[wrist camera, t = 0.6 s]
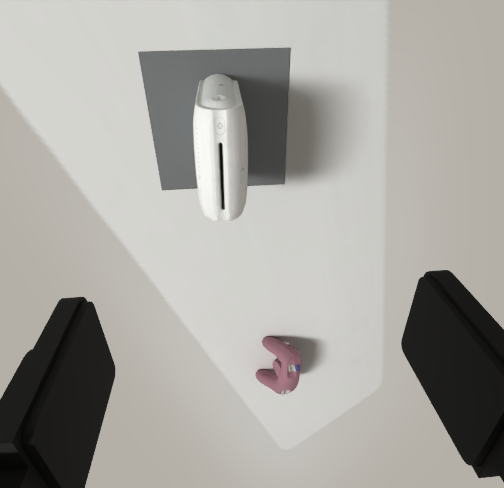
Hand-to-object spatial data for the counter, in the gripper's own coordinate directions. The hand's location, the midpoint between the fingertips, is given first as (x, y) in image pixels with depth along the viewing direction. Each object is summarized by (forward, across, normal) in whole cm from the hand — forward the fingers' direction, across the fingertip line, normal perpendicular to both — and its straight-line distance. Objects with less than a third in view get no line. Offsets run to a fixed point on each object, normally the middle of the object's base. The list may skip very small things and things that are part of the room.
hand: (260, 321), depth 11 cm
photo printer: (+31, +1, +2) cm, 31 cm away
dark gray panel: (+31, +1, +2) cm, 31 cm away
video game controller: (+33, -6, +40) cm, 52 cm away
